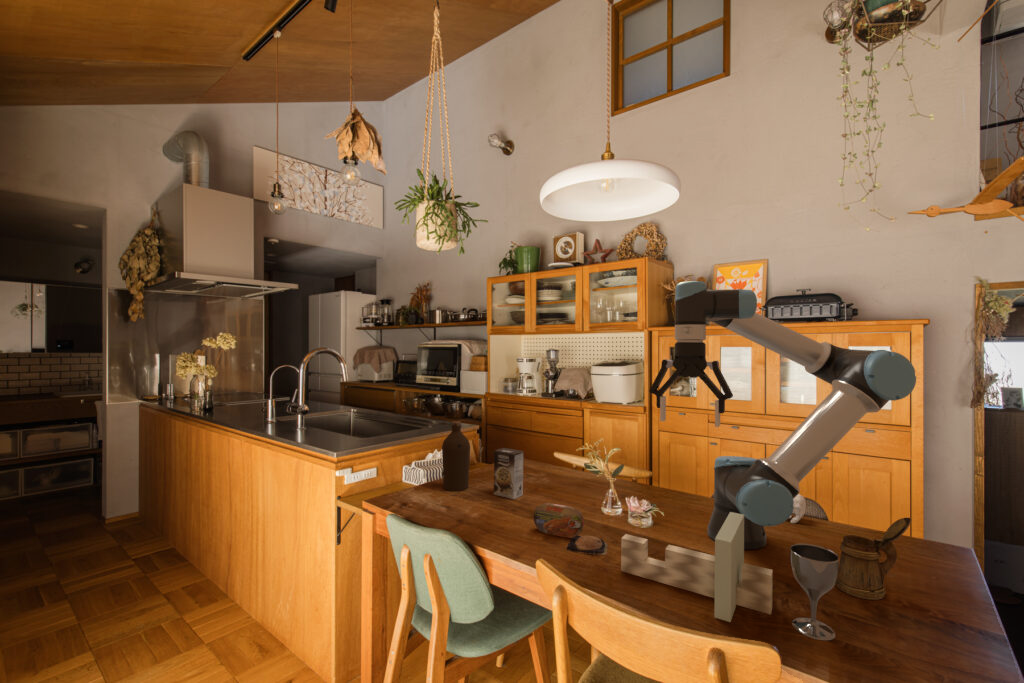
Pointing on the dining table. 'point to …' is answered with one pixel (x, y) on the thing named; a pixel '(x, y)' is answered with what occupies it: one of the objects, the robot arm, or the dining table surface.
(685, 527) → the dining table surface
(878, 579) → the wooden mug
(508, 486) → the coffee box
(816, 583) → the wine glass
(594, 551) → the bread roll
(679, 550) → the notched fence
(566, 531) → the tin
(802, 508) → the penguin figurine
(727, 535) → the sage board
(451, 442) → the olive oil
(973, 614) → the dining table surface
